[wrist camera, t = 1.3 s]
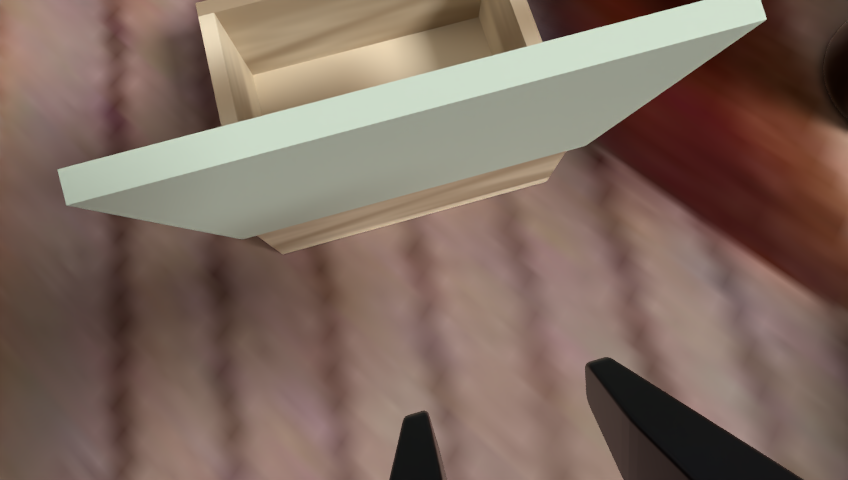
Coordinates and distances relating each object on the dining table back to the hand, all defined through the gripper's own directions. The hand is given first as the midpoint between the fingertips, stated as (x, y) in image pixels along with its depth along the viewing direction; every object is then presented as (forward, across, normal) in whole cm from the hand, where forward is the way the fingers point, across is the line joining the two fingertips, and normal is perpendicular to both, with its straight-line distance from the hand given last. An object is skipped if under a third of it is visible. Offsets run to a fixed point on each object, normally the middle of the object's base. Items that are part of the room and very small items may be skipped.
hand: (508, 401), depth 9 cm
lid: (+7, 0, -3) cm, 7 cm away
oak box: (+17, 0, +1) cm, 17 cm away
